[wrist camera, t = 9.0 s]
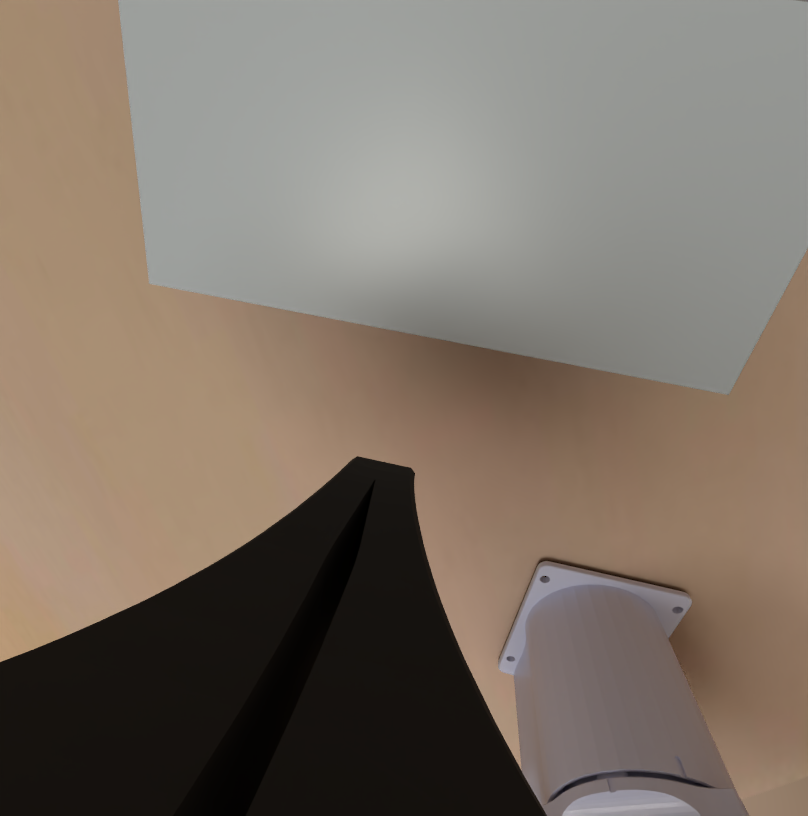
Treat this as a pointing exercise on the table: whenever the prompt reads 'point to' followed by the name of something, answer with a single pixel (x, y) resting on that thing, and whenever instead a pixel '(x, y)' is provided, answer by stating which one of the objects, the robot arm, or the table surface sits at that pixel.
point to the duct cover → (483, 168)
